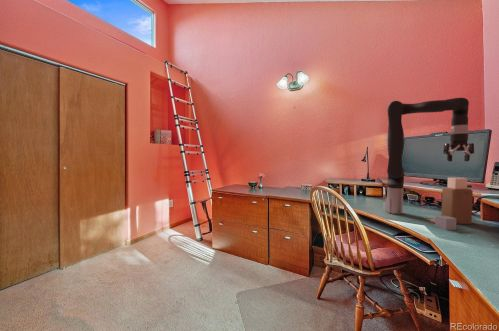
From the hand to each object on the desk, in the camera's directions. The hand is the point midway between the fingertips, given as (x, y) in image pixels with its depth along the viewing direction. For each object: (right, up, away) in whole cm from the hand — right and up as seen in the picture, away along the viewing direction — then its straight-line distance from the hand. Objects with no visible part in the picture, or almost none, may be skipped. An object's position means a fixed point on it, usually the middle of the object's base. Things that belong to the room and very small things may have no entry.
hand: (458, 161), depth 129 cm
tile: (-11, -36, +2) cm, 37 cm away
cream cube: (0, -16, +1) cm, 16 cm away
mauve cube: (-16, -36, -9) cm, 41 cm away
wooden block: (0, -36, +2) cm, 36 cm away
